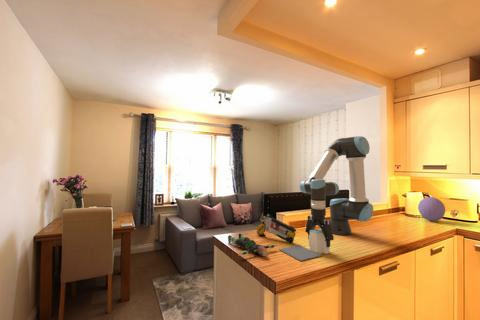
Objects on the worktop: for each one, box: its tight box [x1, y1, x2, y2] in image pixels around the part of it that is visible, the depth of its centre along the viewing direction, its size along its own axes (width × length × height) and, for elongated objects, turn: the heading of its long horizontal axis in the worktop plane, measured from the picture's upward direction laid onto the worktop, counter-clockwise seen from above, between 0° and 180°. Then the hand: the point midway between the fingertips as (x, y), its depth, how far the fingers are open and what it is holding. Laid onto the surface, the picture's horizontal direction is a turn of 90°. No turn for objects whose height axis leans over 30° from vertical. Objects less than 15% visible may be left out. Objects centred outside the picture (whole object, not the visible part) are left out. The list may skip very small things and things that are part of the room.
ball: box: [417, 196, 446, 222], centre depth 188 cm, size 17×17×20 cm
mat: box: [278, 244, 323, 262], centre depth 119 cm, size 14×17×1 cm
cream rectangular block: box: [309, 228, 328, 255], centre depth 122 cm, size 8×5×11 cm, turn 117°
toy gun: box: [256, 214, 297, 245], centre depth 143 cm, size 4×26×15 cm, turn 48°
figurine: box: [227, 232, 278, 257], centre depth 125 cm, size 26×6×30 cm
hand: (318, 249), depth 122 cm, fingers open, 10 cm apart
